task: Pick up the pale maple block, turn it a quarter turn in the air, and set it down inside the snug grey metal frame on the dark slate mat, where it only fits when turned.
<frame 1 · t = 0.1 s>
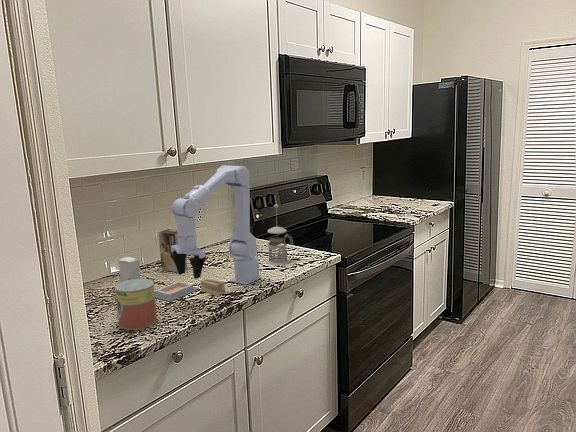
hand: (189, 275, 154), 10 cm above the counter, tool pointing down, fingers open, 7 cm apart
skincare box: (131, 291, 170), on the counter
coffee box: (174, 269, 194), on the counter
maple block: (213, 292, 168), on the counter
french press: (279, 262, 201), on the counter
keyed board: (174, 292, 167), on the counter
canned food: (138, 322, 144), on the counter
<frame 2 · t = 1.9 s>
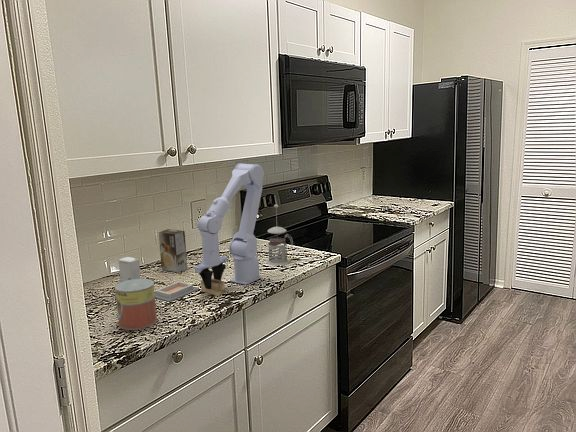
hand: (212, 286, 167), 2 cm above the counter, tool pointing down, fingers closed on maple block, 4 cm apart
maple block: (213, 291, 168), on the counter, touching gripper
everything else where it was.
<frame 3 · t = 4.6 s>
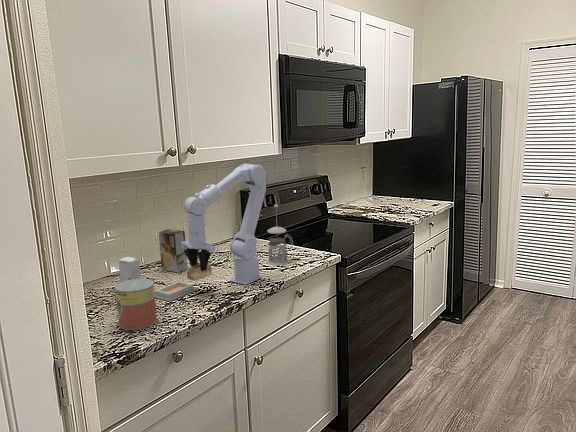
hand: (199, 269, 166), 8 cm above the counter, tool pointing down, fingers closed on maple block, 4 cm apart
maple block: (199, 276, 166), point 6 cm above the counter, touching gripper
everything else where it was.
when the fingers open (3 cm above the counter, at t = 7.6 s): maple block stays where it is, resting on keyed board.
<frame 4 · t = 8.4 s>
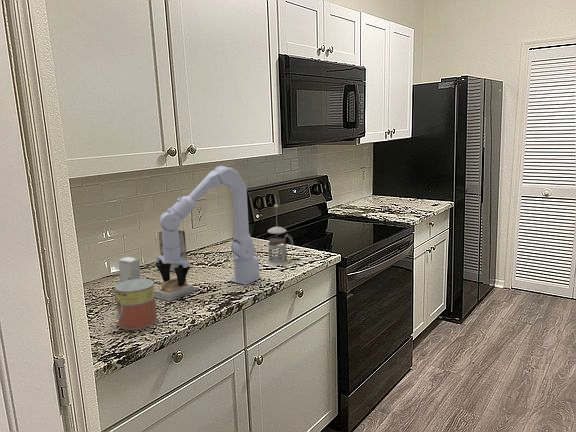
hand: (174, 283, 166), 3 cm above the counter, tool pointing down, fingers open, 7 cm apart
maple block: (174, 291, 167), resting on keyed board
everything else where it was.
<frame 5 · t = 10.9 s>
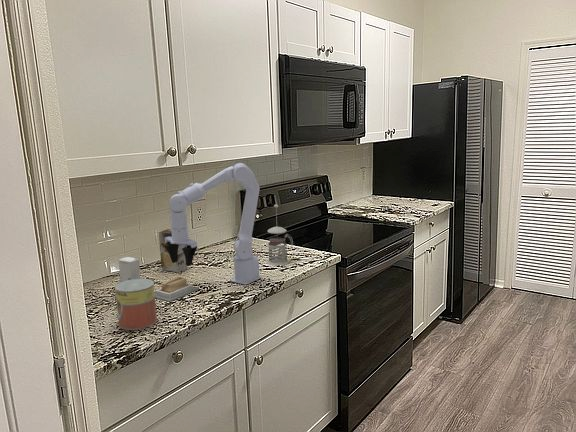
hand: (182, 263, 173), 8 cm above the counter, tool pointing down, fingers open, 7 cm apart
nothing on the counter moved.
at the end: maple block 0.0 cm off-centre on the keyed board, point 0.5 cm above the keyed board's base; maple block tilted 0°; the gripper is holding nothing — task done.
